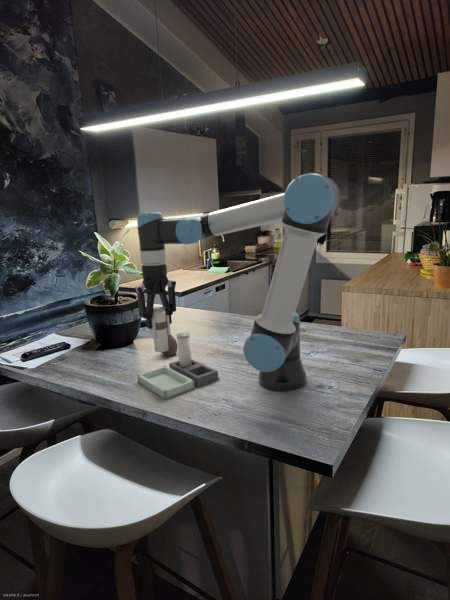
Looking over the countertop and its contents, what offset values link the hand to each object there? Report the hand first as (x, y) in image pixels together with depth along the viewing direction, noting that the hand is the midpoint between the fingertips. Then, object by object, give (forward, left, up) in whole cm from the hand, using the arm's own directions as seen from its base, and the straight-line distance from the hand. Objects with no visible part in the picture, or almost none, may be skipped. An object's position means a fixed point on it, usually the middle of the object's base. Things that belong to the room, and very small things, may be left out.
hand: (160, 335), depth 130 cm
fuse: (+4, -11, -17) cm, 21 cm away
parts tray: (0, 0, -17) cm, 17 cm away
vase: (+24, -16, -17) cm, 33 cm away
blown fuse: (0, 0, -5) cm, 5 cm away
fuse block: (0, -11, -17) cm, 20 cm away
